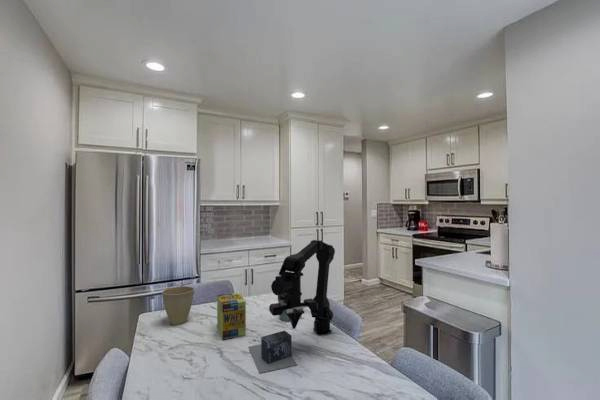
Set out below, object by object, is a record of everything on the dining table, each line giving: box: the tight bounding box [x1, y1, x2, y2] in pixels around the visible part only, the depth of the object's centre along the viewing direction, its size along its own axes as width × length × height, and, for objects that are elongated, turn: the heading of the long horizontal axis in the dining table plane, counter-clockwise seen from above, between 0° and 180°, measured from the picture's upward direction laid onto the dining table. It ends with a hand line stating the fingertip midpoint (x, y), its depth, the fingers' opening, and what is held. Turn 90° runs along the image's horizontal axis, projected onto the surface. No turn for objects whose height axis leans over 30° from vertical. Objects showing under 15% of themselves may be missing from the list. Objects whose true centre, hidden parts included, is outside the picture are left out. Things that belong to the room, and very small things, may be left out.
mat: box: [247, 343, 298, 375], centre depth 111 cm, size 14×20×1 cm
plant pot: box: [161, 285, 195, 326], centre depth 145 cm, size 15×15×16 cm
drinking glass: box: [277, 293, 294, 323], centre depth 148 cm, size 10×10×12 cm
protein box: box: [216, 292, 247, 341], centre depth 133 cm, size 10×15×16 cm
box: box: [260, 330, 293, 364], centre depth 110 cm, size 8×6×11 cm
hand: (293, 328), depth 115 cm, fingers closed
